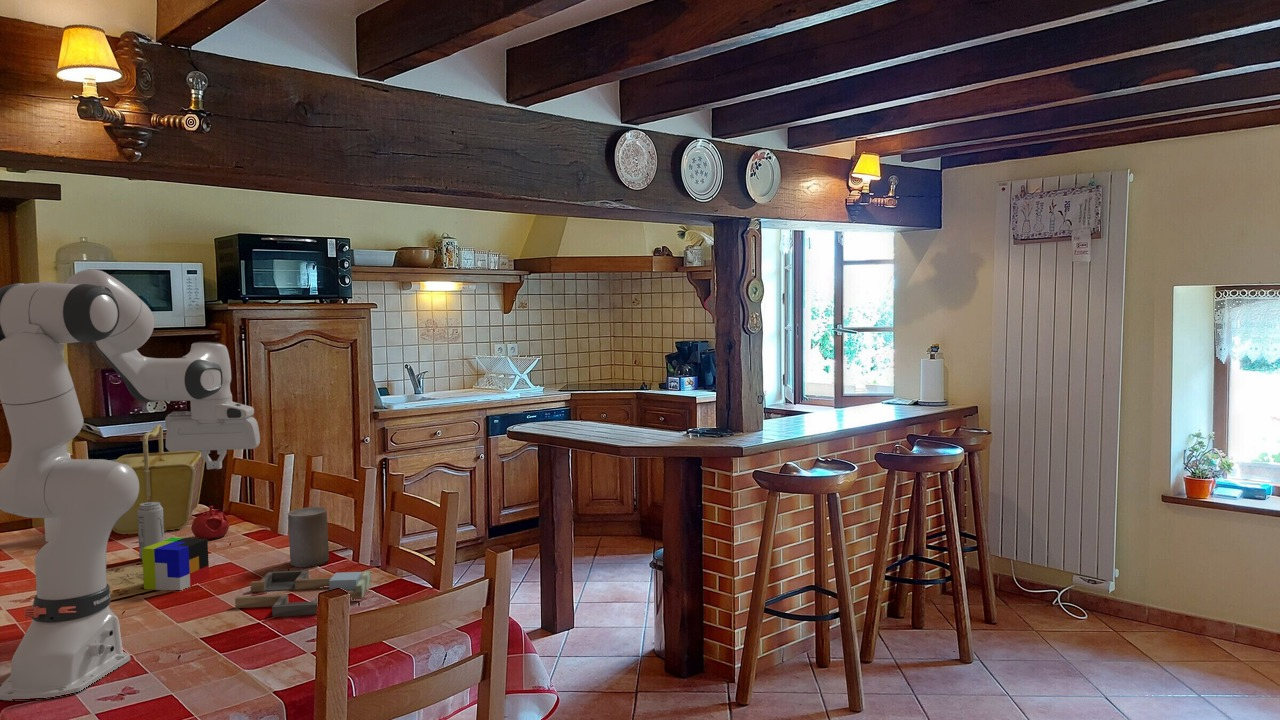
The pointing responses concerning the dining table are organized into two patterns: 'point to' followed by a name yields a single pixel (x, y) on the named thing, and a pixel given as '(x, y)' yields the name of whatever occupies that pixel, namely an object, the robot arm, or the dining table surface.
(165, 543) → the puzzle toy
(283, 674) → the dining table surface
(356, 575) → the block
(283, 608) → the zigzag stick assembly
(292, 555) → the pillar candle
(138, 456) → the picnic basket
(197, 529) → the pomegranate
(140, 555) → the energy drink can
